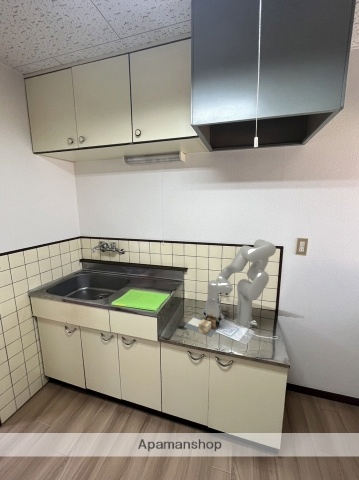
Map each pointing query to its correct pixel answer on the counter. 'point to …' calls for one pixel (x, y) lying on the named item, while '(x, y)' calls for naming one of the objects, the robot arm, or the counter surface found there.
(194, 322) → the build board
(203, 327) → the maple block
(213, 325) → the walnut block
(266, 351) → the counter surface
